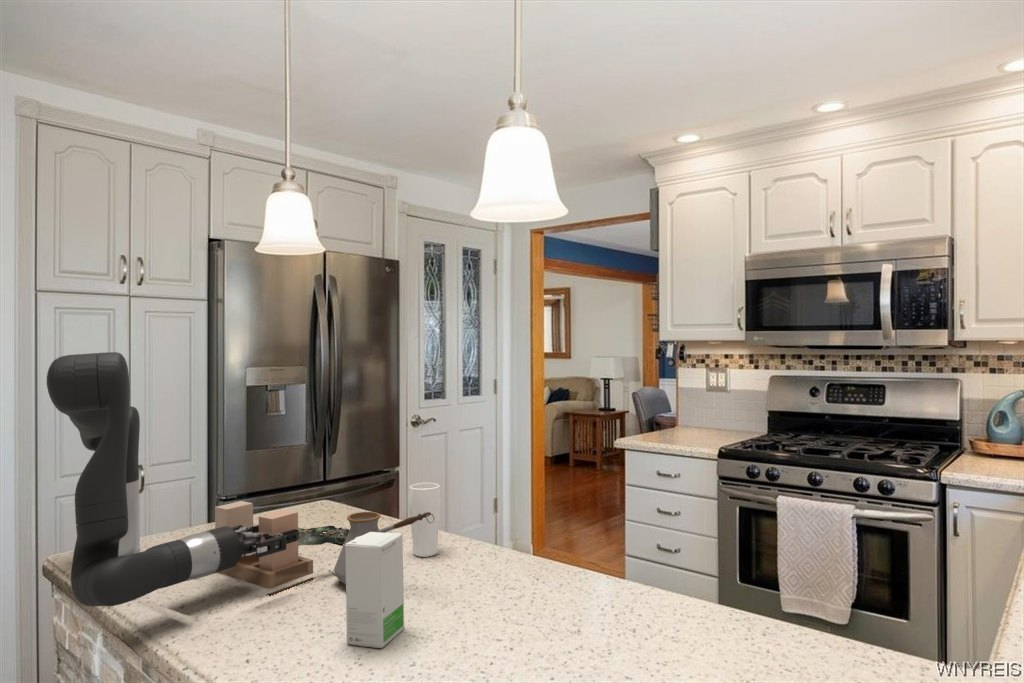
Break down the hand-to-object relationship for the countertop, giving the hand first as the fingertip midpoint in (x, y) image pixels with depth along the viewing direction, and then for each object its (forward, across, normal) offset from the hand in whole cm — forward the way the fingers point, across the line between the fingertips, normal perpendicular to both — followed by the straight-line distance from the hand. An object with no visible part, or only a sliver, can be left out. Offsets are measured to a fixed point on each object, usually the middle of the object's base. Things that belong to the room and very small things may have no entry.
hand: (282, 531), depth 131 cm
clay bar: (-1, 0, +8) cm, 9 cm away
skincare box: (-8, -32, +10) cm, 35 cm away
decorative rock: (+22, +16, +11) cm, 29 cm away
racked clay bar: (-1, +14, +8) cm, 16 cm away
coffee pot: (+9, -18, +10) cm, 23 cm away
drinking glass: (+28, -12, +10) cm, 32 cm away
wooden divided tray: (-1, +7, +10) cm, 12 cm away
